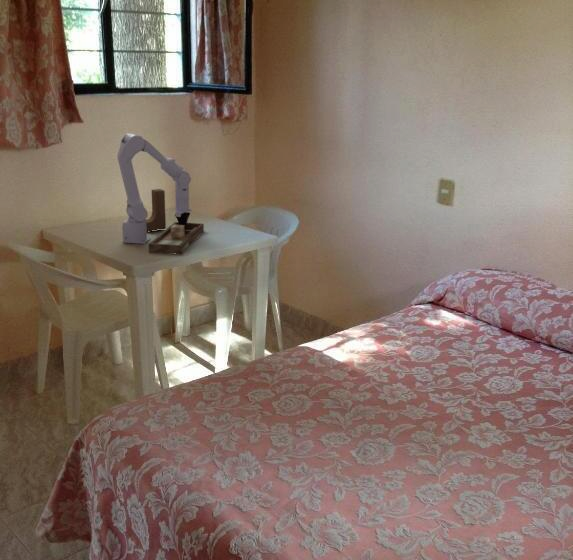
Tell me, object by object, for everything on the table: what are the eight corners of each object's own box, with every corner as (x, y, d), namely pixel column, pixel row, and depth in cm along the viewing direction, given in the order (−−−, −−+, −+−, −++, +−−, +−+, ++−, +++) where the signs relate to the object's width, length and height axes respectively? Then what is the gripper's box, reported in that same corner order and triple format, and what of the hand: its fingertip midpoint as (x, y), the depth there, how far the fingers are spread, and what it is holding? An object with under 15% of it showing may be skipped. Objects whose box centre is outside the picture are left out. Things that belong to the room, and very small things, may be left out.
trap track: (149, 252, 262) (148, 243, 260) (175, 229, 296) (175, 221, 295) (180, 254, 260) (180, 245, 259) (203, 231, 295) (203, 223, 294)
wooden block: (147, 232, 290) (145, 192, 284) (143, 230, 293) (141, 190, 287) (166, 230, 295) (164, 190, 289) (161, 228, 298) (160, 188, 292)
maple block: (171, 237, 276) (170, 227, 274) (174, 234, 280) (173, 224, 278) (181, 238, 275) (181, 227, 274) (184, 235, 279) (184, 225, 278)
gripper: (186, 202, 273) (187, 234, 277) (195, 195, 287) (196, 226, 291) (170, 201, 274) (171, 233, 278) (180, 194, 288) (180, 225, 292)
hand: (183, 229), depth 285 cm, fingers closed
